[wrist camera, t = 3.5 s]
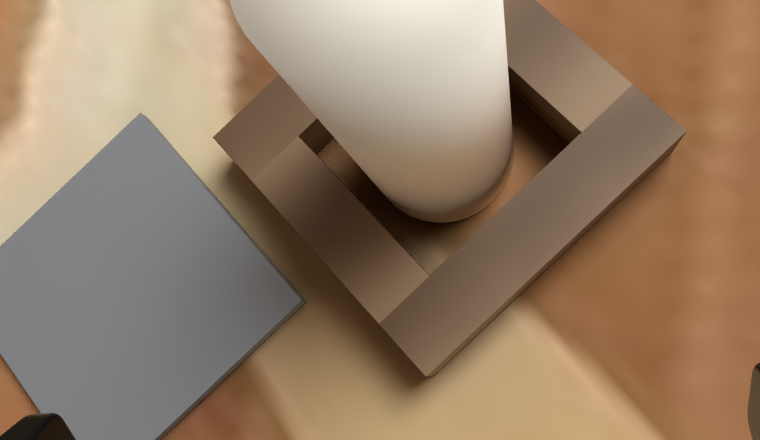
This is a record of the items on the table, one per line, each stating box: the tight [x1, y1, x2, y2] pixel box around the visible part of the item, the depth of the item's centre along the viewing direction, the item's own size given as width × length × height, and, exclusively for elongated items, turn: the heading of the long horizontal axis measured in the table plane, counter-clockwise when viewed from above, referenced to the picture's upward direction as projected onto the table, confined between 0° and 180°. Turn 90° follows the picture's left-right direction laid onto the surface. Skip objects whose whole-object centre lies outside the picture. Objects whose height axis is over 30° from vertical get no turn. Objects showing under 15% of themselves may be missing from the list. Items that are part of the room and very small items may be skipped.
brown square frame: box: [213, 0, 687, 377], centre depth 22 cm, size 10×10×2 cm
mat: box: [0, 113, 306, 440], centre depth 24 cm, size 9×9×1 cm
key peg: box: [230, 0, 514, 223], centre depth 18 cm, size 5×5×12 cm
